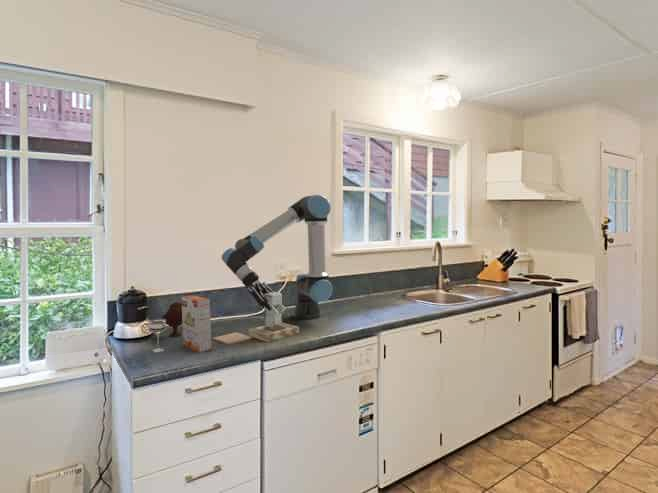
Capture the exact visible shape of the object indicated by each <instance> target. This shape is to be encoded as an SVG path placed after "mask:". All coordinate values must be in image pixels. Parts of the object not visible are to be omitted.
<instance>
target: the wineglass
mask: <svg viewBox="0 0 658 493" xmlns="http://www.w3.org/2000/svg"><path fill="white" fill-rule="evenodd" d="M165 322H166V320H165V319H162V318H155V319H150V320H149V321H148V329H149V331H150V332H151V333H152V334H155V335H156V340H157V348H154V349H152V350H153V351H154V352H153V353H161V352H164V351H166V348H163V347H162V348H161V347H160V335H161V334H162V333H163V332H165V330H166V329H167V326H168V325H167V324H166V323H165ZM160 351H161V352H160Z"/></svg>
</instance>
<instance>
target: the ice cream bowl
mask: <svg viewBox="0 0 658 493" xmlns="http://www.w3.org/2000/svg"><path fill="white" fill-rule="evenodd" d="M161 319H165V320H166V322H165V323H166V324H167V326H169V327H171V328H172V329H173V330H172V332H171V333H170V334H168V336H169V337H170V338H177V336H178V337H181V336H183V333H181V332H180V331H178V327H180V326H181V325H183V323H182V302H177V301H176V302H173V303H171V304H170V305H169V309H168V310H167V311H166V312H165V313H164V314H163V315H161Z"/></svg>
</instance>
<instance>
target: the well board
mask: <svg viewBox="0 0 658 493" xmlns="http://www.w3.org/2000/svg"><path fill="white" fill-rule="evenodd" d="M299 334H300V326H297V325H292V324H289V323H284V322H282V324H279V325H276V326H269V325H265V324H264V325H262V326H261V325H260V326H258V327H252V328H249V329H248V336H250V337H252V338H255V339H258V340H261V341H264V342H267V343H268V342H273V341H275V340H279V339H283V338H287V337H292V336H295V335H299Z"/></svg>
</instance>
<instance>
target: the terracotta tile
mask: <svg viewBox="0 0 658 493" xmlns="http://www.w3.org/2000/svg"><path fill="white" fill-rule="evenodd" d="M252 338H253V337H251V336H249V335H247V334H244V333H239V332H236V331H235V332H232V333H228V334H224V335H220V336H219V335H218V336H215V337H213V338H212V339H213V340H214V341H216V342H219V343H221V344H224V345H227V346H229V345H233V344H237V343H242V342H245V341H249V340H253V339H252Z"/></svg>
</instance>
